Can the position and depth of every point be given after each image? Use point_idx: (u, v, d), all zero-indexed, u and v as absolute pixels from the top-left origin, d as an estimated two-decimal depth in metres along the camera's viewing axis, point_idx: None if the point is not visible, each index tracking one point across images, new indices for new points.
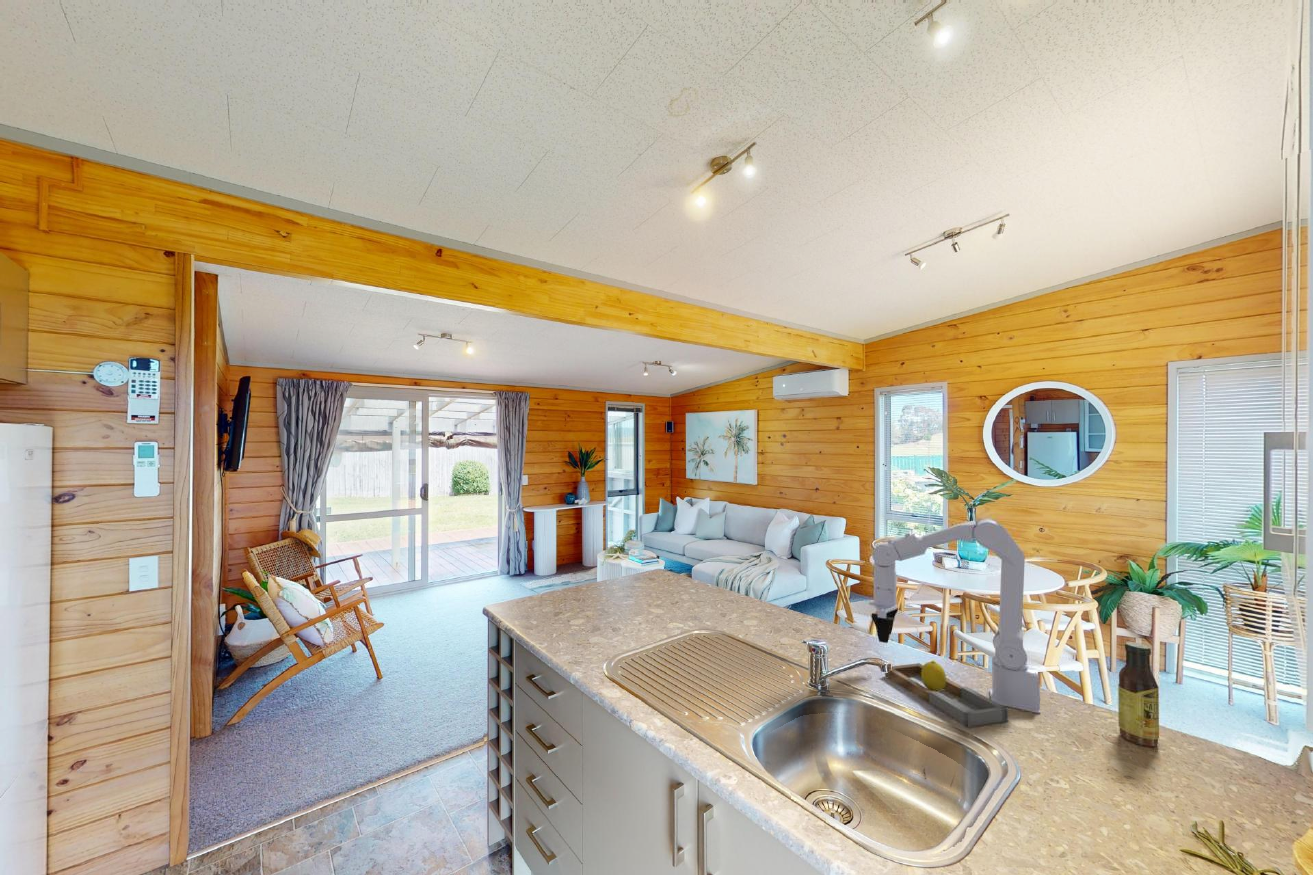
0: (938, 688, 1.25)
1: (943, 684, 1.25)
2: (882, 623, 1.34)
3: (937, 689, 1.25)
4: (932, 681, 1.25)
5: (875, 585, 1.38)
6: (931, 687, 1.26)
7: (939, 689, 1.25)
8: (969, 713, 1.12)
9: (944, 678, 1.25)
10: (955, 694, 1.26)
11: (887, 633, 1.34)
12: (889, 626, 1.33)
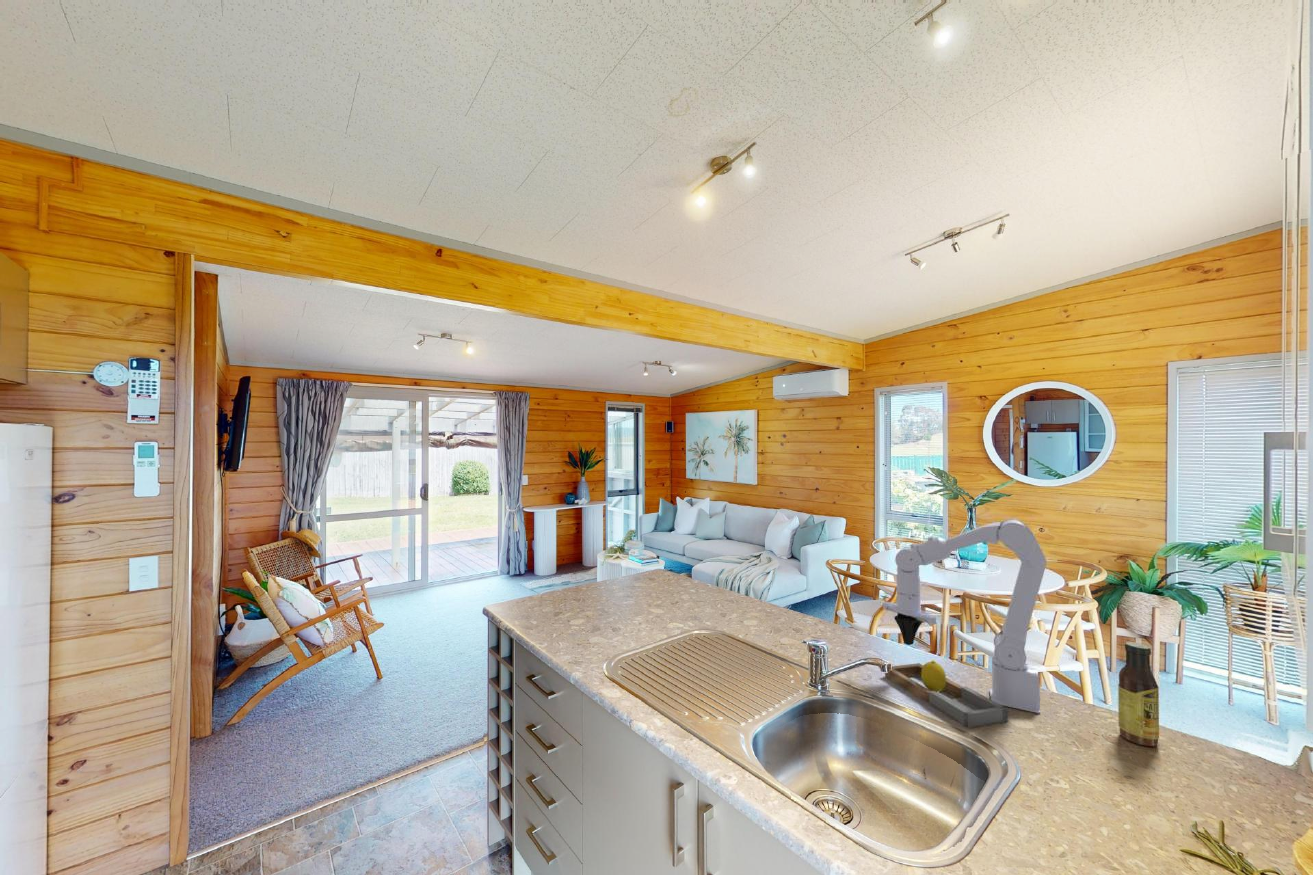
0: (938, 688, 1.25)
1: (943, 684, 1.25)
2: None
3: (937, 689, 1.25)
4: (932, 681, 1.25)
5: (898, 590, 1.36)
6: (931, 687, 1.26)
7: (939, 689, 1.25)
8: (969, 713, 1.12)
9: (944, 678, 1.25)
10: (955, 694, 1.26)
11: None
12: None
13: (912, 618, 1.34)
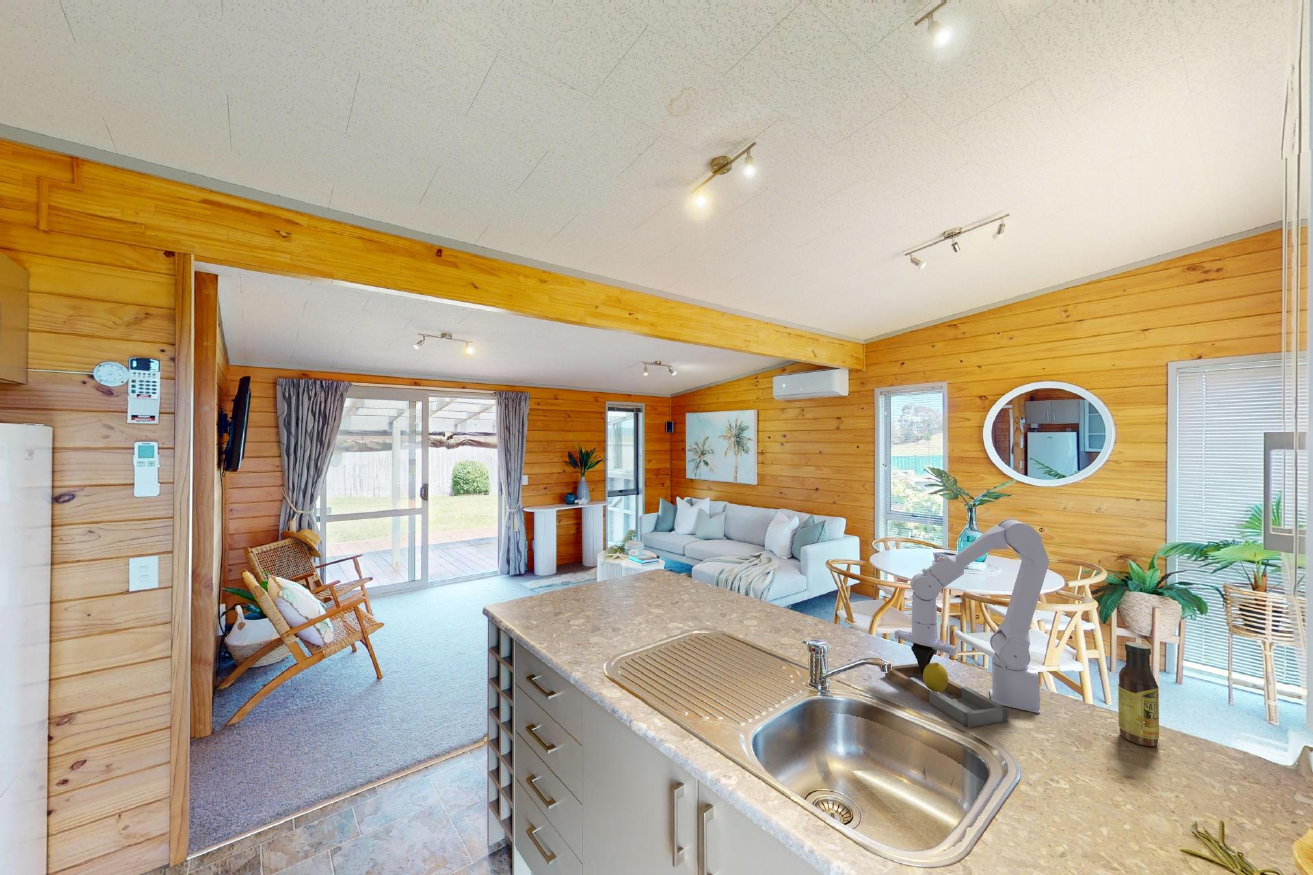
0: (939, 690, 1.25)
1: (944, 686, 1.24)
2: None
3: (938, 690, 1.25)
4: (934, 683, 1.25)
5: (915, 619, 1.30)
6: (932, 688, 1.25)
7: (940, 690, 1.25)
8: (969, 713, 1.12)
9: (946, 680, 1.24)
10: (955, 694, 1.26)
11: None
12: None
13: (928, 648, 1.29)
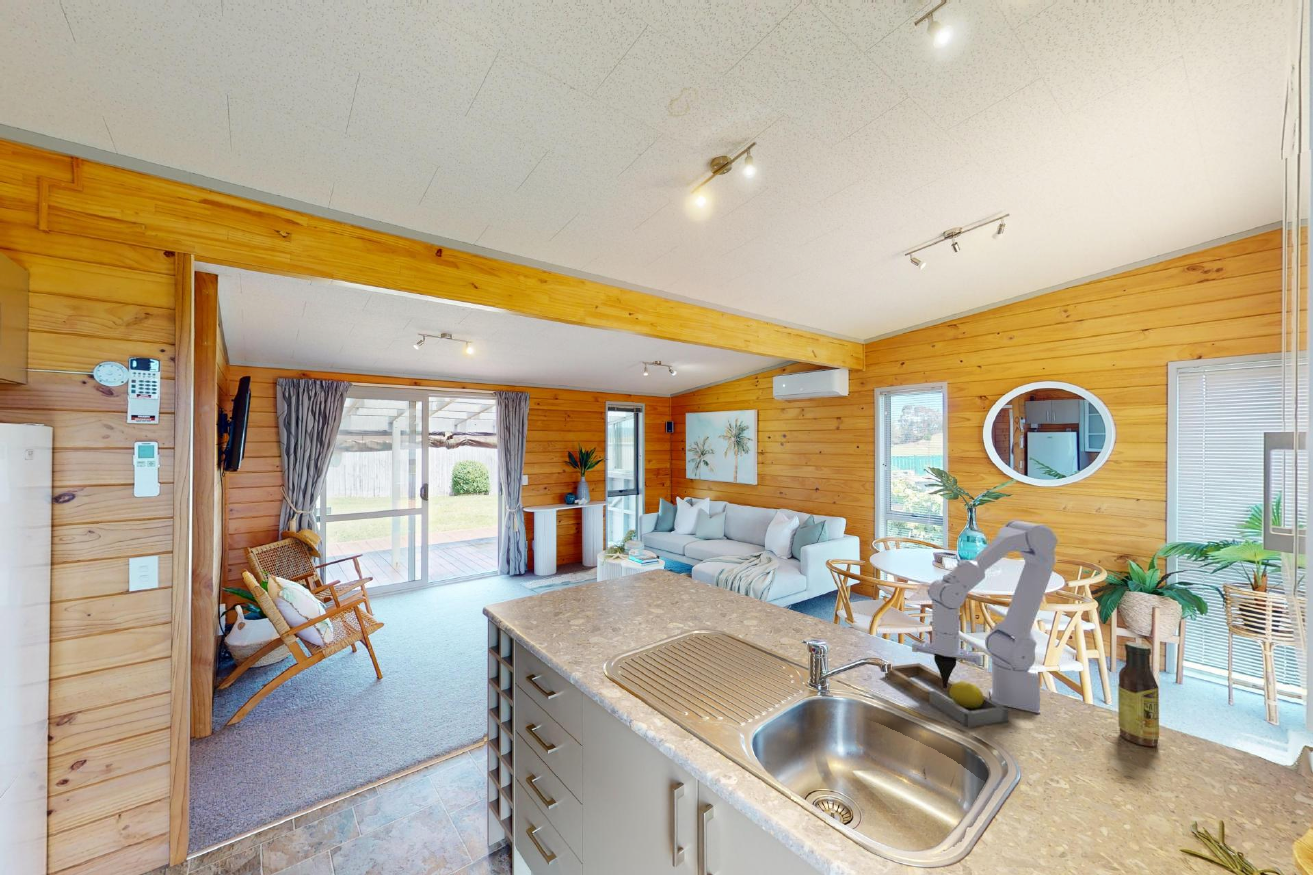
0: (958, 704, 1.20)
1: None
2: None
3: (956, 703, 1.20)
4: (962, 704, 1.18)
5: (940, 630, 1.22)
6: (955, 701, 1.19)
7: None
8: (969, 713, 1.12)
9: None
10: None
11: None
12: (938, 667, 1.23)
13: (952, 658, 1.22)
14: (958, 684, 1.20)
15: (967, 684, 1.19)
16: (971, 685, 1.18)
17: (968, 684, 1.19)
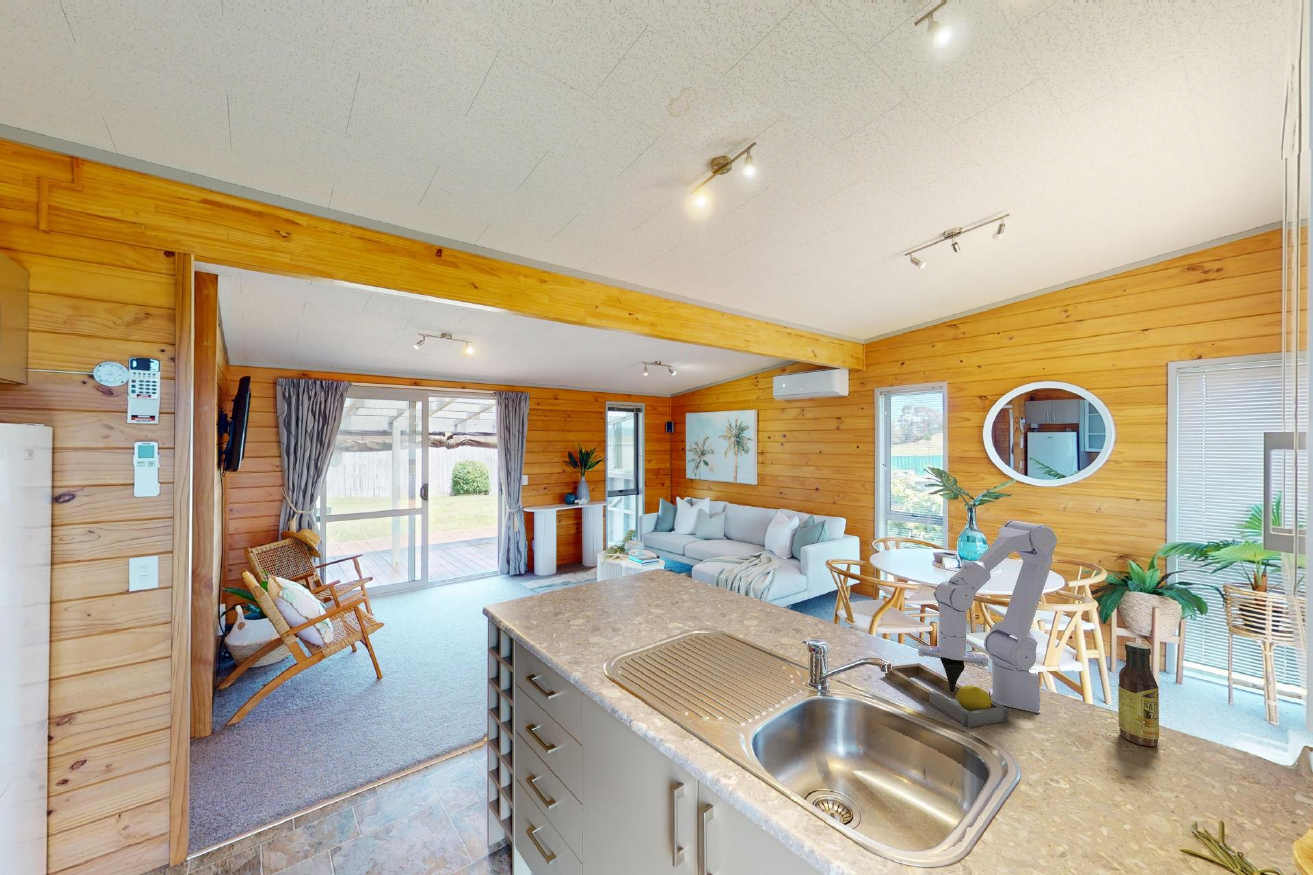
0: (965, 708, 1.18)
1: None
2: None
3: (963, 707, 1.18)
4: (969, 707, 1.16)
5: (949, 633, 1.20)
6: (962, 705, 1.17)
7: None
8: (969, 713, 1.12)
9: None
10: (955, 694, 1.26)
11: None
12: (945, 671, 1.21)
13: (959, 661, 1.20)
14: (966, 688, 1.18)
15: (975, 688, 1.17)
16: (979, 689, 1.16)
17: (976, 688, 1.17)
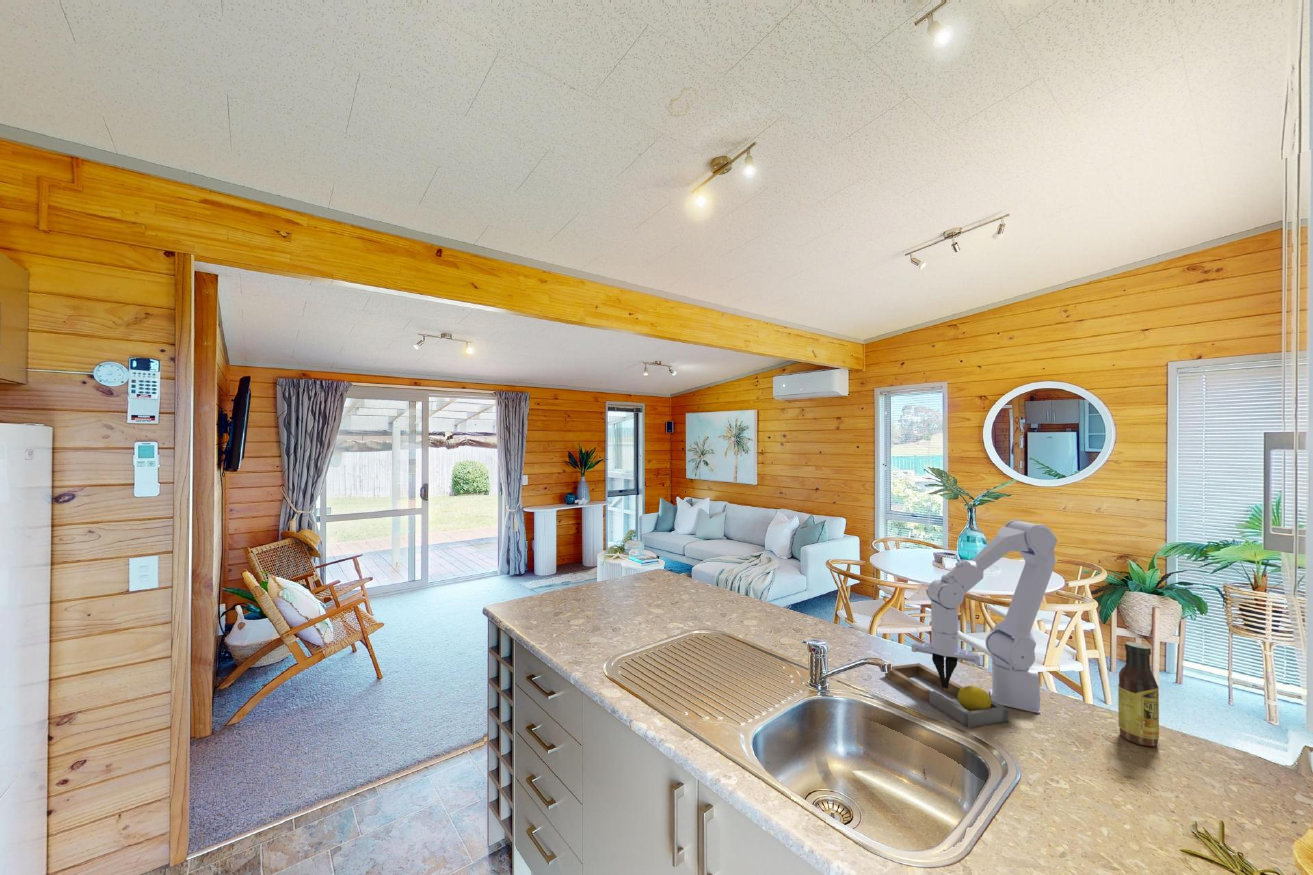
0: (966, 709, 1.18)
1: None
2: None
3: None
4: (969, 707, 1.16)
5: (939, 630, 1.23)
6: (962, 705, 1.17)
7: None
8: (969, 713, 1.12)
9: None
10: (955, 694, 1.26)
11: None
12: (936, 667, 1.24)
13: (953, 658, 1.22)
14: (965, 688, 1.18)
15: (974, 687, 1.17)
16: (978, 688, 1.16)
17: (975, 688, 1.17)
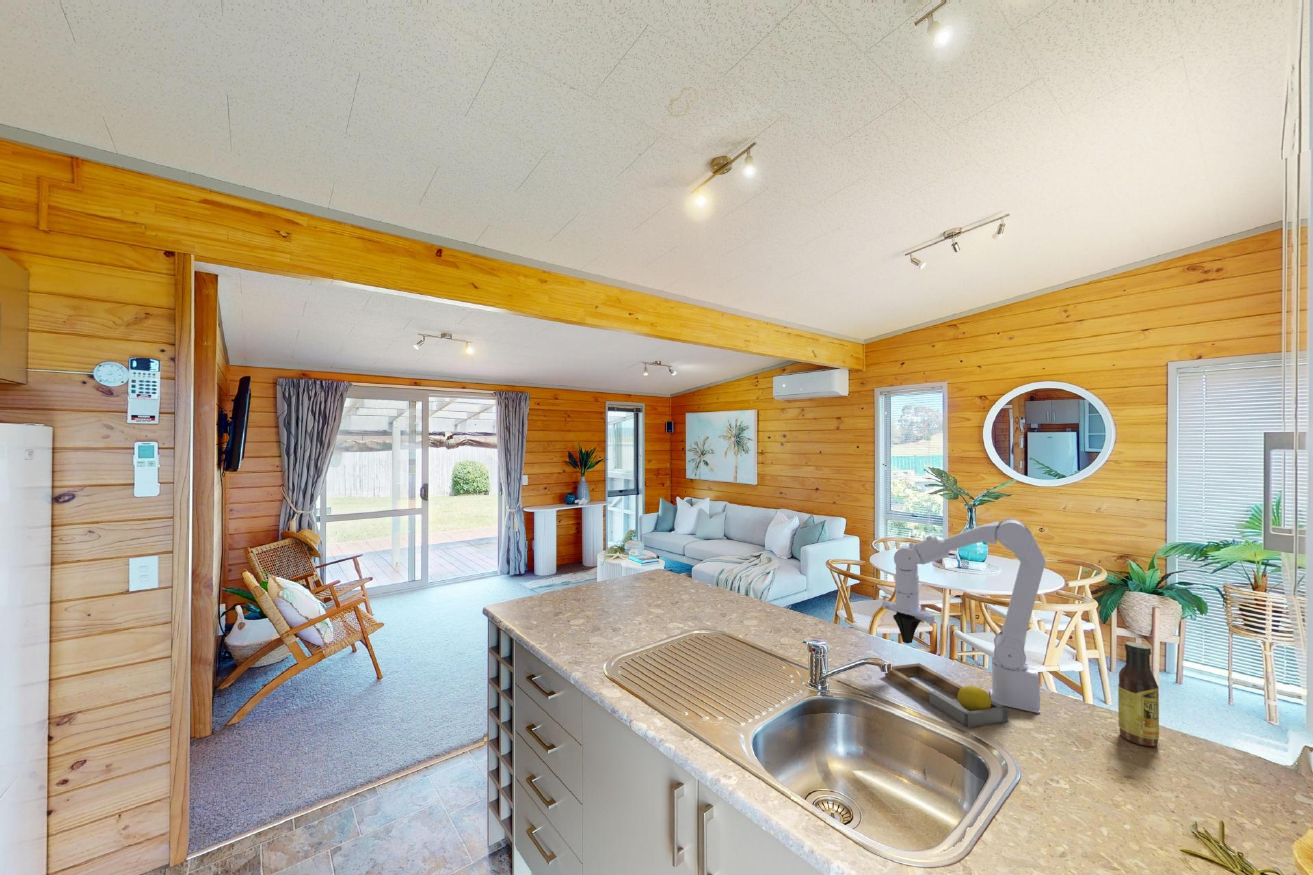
0: (966, 709, 1.18)
1: None
2: None
3: None
4: (969, 707, 1.16)
5: (897, 589, 1.36)
6: (962, 705, 1.17)
7: None
8: (969, 713, 1.12)
9: None
10: (955, 694, 1.26)
11: None
12: None
13: (911, 617, 1.35)
14: (965, 688, 1.18)
15: (974, 687, 1.17)
16: (978, 688, 1.16)
17: (975, 687, 1.17)
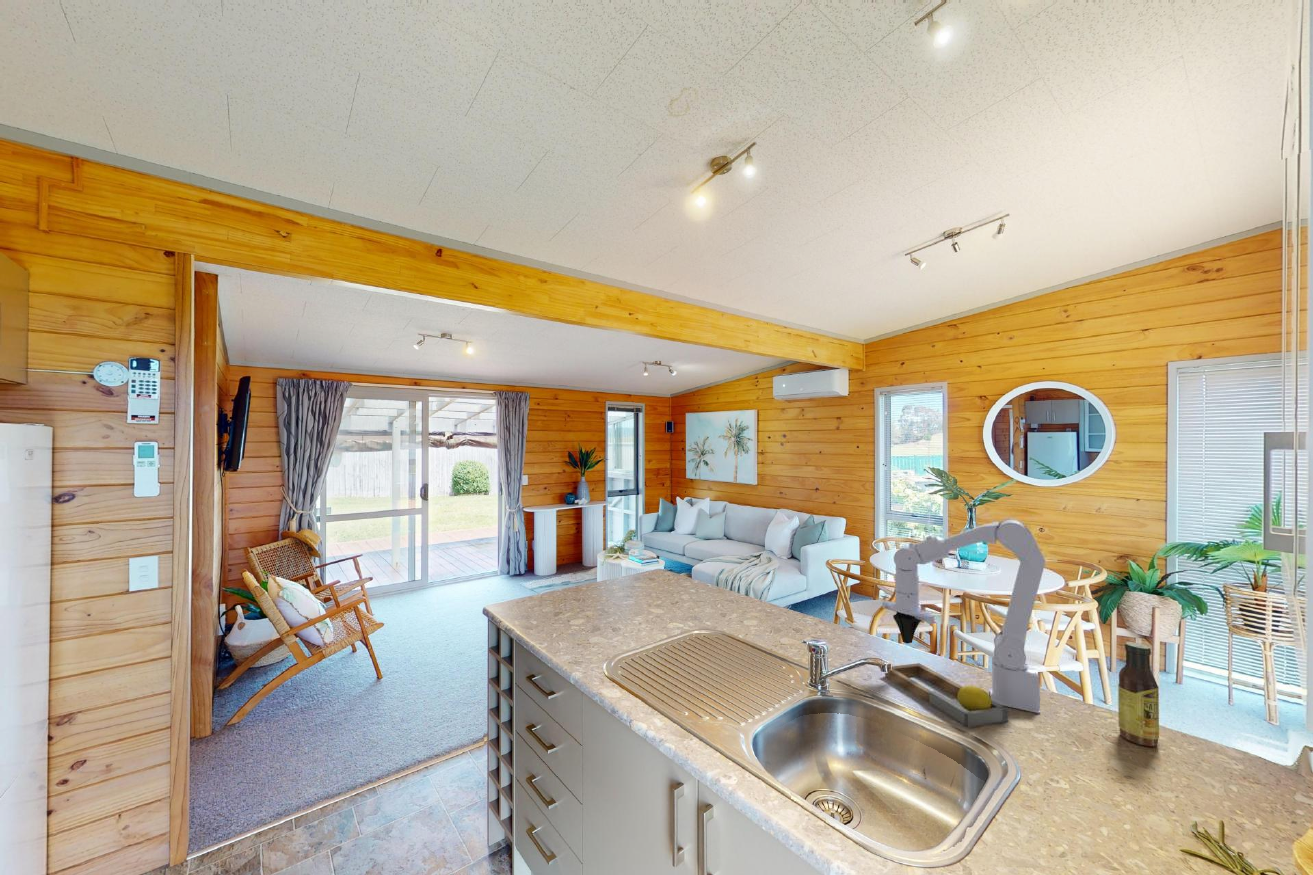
0: (966, 709, 1.18)
1: None
2: None
3: None
4: (969, 707, 1.16)
5: (897, 589, 1.36)
6: (962, 705, 1.17)
7: None
8: (969, 713, 1.12)
9: None
10: (955, 694, 1.26)
11: None
12: None
13: (911, 617, 1.35)
14: (965, 688, 1.18)
15: (974, 687, 1.17)
16: (978, 688, 1.16)
17: (975, 687, 1.17)
